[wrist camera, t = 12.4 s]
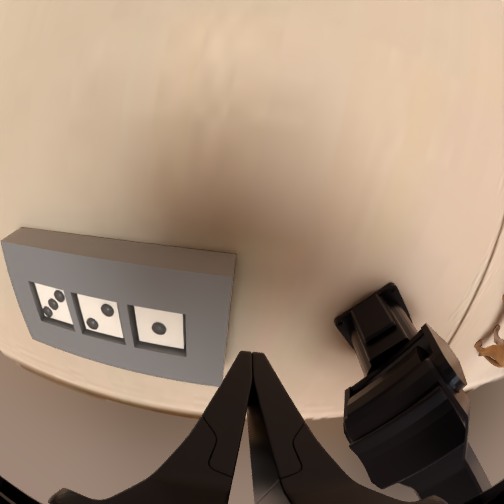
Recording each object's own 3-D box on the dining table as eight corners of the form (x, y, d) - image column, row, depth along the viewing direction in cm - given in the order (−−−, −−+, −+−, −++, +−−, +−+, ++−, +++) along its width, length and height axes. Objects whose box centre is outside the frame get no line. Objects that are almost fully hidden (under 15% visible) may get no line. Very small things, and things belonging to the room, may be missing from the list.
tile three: (74, 279, 21) (63, 290, 19) (82, 313, 23) (73, 326, 21) (44, 272, 21) (33, 282, 19) (53, 305, 22) (44, 316, 21)
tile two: (124, 289, 21) (115, 303, 19) (130, 325, 23) (122, 339, 21) (86, 282, 21) (75, 294, 19) (94, 317, 23) (85, 330, 21)
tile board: (236, 254, 21) (233, 277, 18) (224, 361, 26) (221, 387, 23) (21, 227, 20) (0, 240, 17) (46, 321, 25) (32, 338, 22)
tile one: (187, 299, 22) (182, 314, 20) (187, 334, 23) (183, 350, 21) (141, 291, 21) (132, 305, 20) (145, 327, 23) (138, 342, 21)
